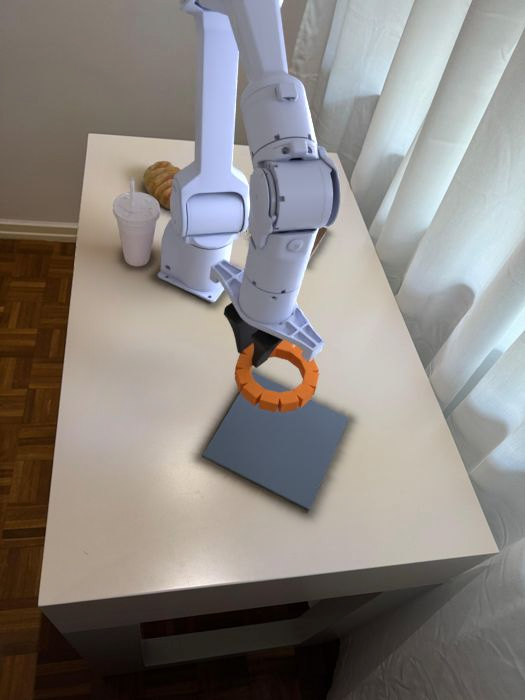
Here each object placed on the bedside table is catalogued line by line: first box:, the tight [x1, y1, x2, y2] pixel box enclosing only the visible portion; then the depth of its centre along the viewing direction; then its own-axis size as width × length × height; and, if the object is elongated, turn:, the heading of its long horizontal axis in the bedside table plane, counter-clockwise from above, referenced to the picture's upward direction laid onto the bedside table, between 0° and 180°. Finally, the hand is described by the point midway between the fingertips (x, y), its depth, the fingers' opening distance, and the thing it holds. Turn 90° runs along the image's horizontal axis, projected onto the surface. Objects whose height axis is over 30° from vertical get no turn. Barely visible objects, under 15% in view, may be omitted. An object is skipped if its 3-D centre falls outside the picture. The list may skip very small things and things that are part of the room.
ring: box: [234, 340, 320, 413], centre depth 65 cm, size 9×9×2 cm
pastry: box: [142, 160, 181, 210], centre depth 94 cm, size 9×7×4 cm
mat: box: [202, 371, 350, 511], centre depth 71 cm, size 14×14×1 cm
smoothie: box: [112, 177, 161, 267], centre depth 80 cm, size 6×6×14 cm
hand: (252, 355), depth 66 cm, fingers closed on ring, 2 cm apart
